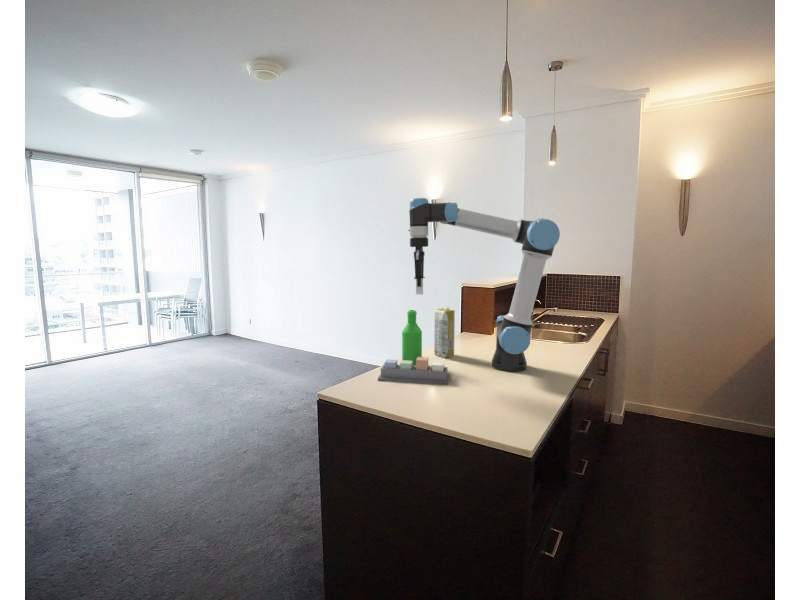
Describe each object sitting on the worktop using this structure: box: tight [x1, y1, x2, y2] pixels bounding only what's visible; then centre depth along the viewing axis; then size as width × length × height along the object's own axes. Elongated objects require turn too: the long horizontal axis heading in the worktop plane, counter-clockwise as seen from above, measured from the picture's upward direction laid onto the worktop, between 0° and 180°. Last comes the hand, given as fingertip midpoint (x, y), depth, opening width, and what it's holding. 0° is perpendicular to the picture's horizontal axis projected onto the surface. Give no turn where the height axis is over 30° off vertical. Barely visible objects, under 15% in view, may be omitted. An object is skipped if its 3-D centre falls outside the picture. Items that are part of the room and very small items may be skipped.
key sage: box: [399, 360, 413, 370], centre depth 166 cm, size 4×4×5 cm
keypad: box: [377, 363, 451, 386], centre depth 165 cm, size 28×11×4 cm, turn 79°
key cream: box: [431, 361, 445, 371], centre depth 163 cm, size 4×4×5 cm
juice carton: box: [433, 306, 456, 359], centre depth 197 cm, size 9×8×24 cm
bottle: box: [401, 309, 423, 365], centre depth 182 cm, size 9×9×25 cm
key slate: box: [384, 359, 398, 369], centre depth 167 cm, size 4×4×5 cm
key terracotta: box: [416, 356, 429, 371], centre depth 164 cm, size 4×4×5 cm
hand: (419, 294), depth 169 cm, fingers closed
